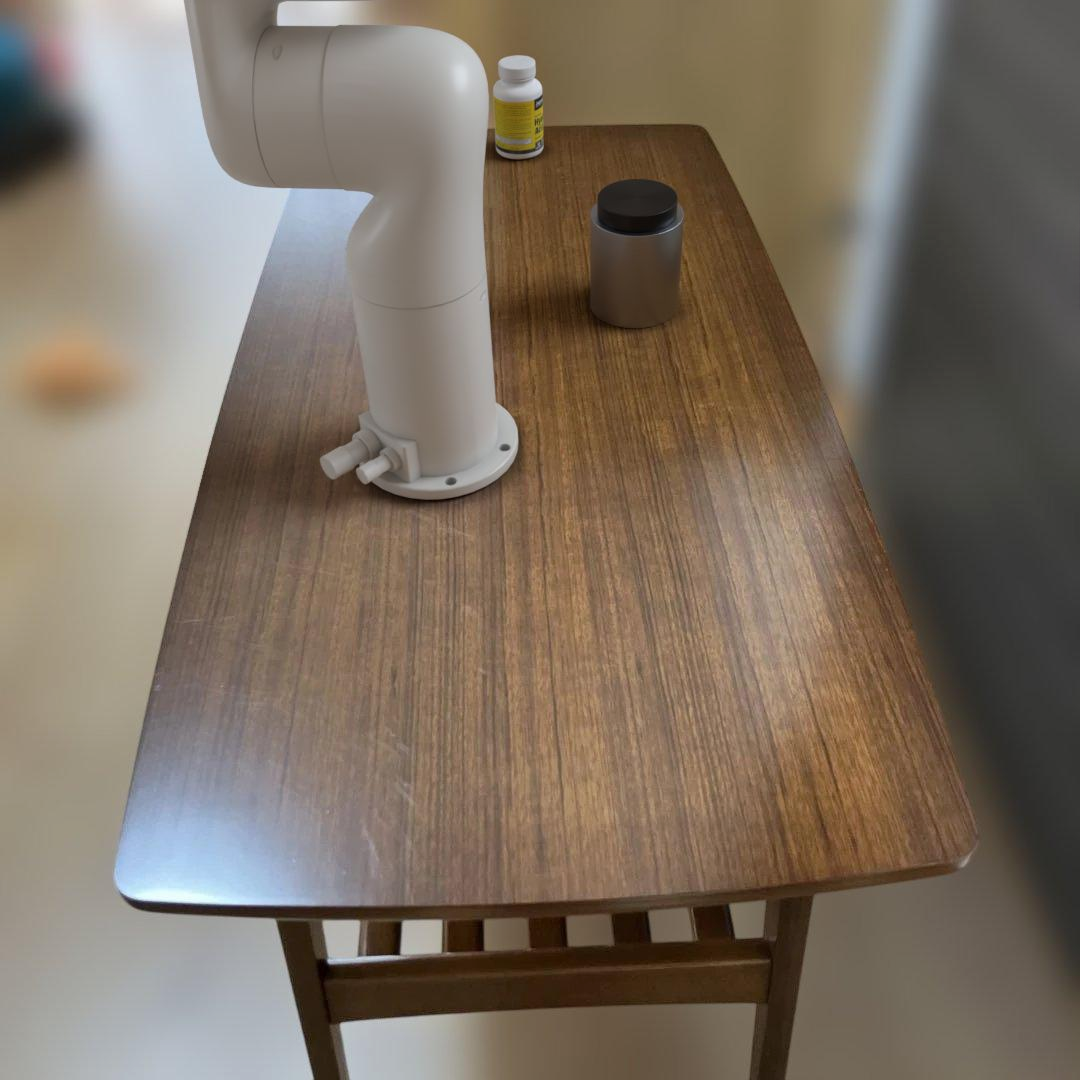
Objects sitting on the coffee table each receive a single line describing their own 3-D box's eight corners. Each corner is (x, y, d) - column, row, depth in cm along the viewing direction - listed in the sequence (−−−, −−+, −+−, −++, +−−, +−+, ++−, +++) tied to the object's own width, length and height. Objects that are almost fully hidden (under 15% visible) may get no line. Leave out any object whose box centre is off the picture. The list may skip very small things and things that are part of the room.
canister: (637, 339, 98) (640, 229, 91) (572, 305, 102) (570, 198, 95) (696, 303, 102) (704, 195, 95) (631, 272, 106) (634, 166, 99)
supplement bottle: (543, 160, 124) (541, 71, 117) (494, 161, 124) (489, 72, 117) (544, 139, 128) (542, 51, 121) (497, 140, 128) (492, 52, 121)
